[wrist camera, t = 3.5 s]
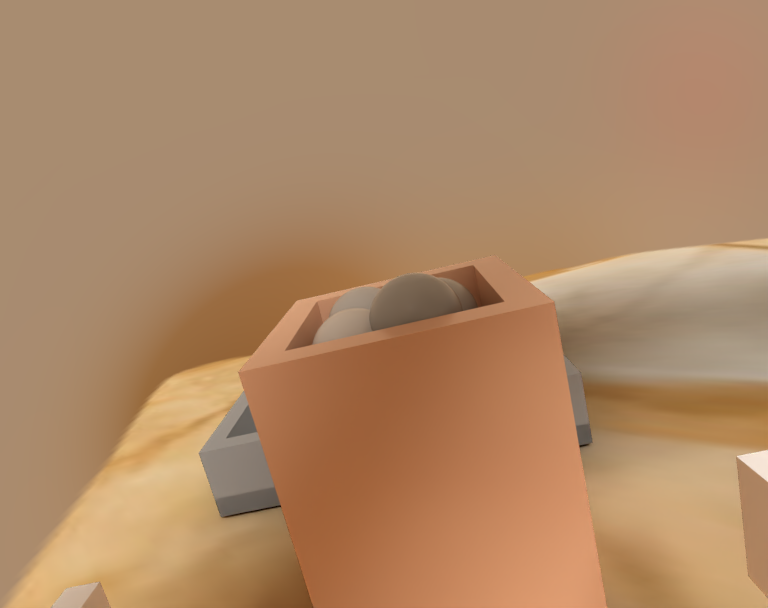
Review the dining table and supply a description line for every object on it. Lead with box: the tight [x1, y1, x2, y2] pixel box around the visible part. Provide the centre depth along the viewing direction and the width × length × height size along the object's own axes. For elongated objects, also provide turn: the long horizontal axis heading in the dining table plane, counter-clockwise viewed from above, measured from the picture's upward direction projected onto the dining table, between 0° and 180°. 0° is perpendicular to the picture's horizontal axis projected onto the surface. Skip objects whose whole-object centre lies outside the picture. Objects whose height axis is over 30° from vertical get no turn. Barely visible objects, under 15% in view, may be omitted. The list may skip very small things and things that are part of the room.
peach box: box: [238, 255, 607, 608], centre depth 18 cm, size 8×8×11 cm
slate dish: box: [199, 354, 592, 517], centre depth 34 cm, size 18×18×4 cm
